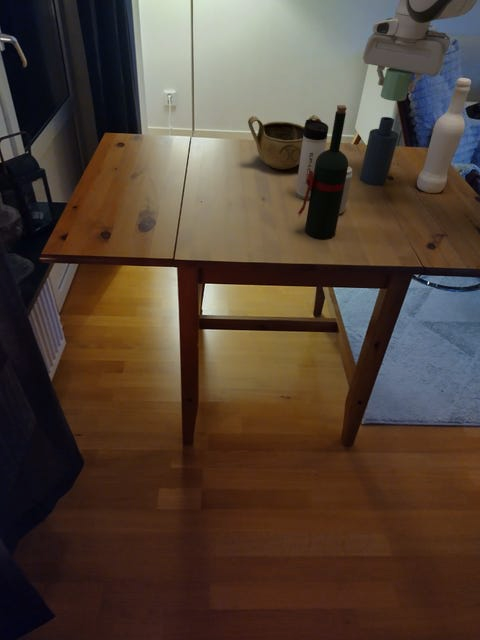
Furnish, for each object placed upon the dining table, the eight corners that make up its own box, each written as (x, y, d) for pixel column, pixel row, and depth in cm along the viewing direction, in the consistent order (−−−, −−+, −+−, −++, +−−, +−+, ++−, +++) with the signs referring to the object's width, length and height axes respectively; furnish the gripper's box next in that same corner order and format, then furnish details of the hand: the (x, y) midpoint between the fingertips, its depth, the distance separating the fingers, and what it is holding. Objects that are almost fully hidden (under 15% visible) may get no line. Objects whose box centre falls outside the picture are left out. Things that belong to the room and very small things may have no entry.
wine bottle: (293, 223, 119) (309, 100, 99) (331, 223, 120) (355, 101, 100) (298, 239, 113) (316, 111, 93) (338, 239, 114) (365, 112, 94)
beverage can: (321, 203, 128) (328, 161, 120) (344, 206, 127) (353, 164, 119) (320, 214, 123) (327, 171, 115) (344, 217, 123) (353, 174, 115)
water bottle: (389, 178, 142) (405, 118, 130) (380, 187, 137) (397, 125, 125) (365, 172, 145) (378, 112, 134) (355, 180, 140) (369, 119, 128)
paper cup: (408, 97, 126) (415, 70, 122) (401, 102, 122) (408, 75, 118) (385, 92, 129) (391, 66, 124) (377, 97, 124) (383, 71, 120)
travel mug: (306, 188, 135) (316, 117, 122) (322, 196, 131) (334, 124, 118) (290, 193, 132) (299, 121, 119) (305, 202, 128) (316, 128, 115)
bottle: (449, 190, 138) (488, 81, 118) (430, 196, 134) (468, 84, 114) (427, 180, 143) (462, 73, 123) (409, 185, 139) (442, 76, 120)
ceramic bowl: (253, 178, 138) (256, 127, 129) (240, 156, 151) (242, 108, 141) (322, 174, 143) (331, 124, 133) (304, 153, 155) (311, 106, 145)
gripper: (455, 32, 113) (437, 92, 122) (376, 20, 120) (364, 78, 130) (449, 35, 109) (430, 98, 118) (367, 23, 116) (355, 83, 126)
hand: (395, 87), depth 124 cm, fingers closed on paper cup, 6 cm apart
